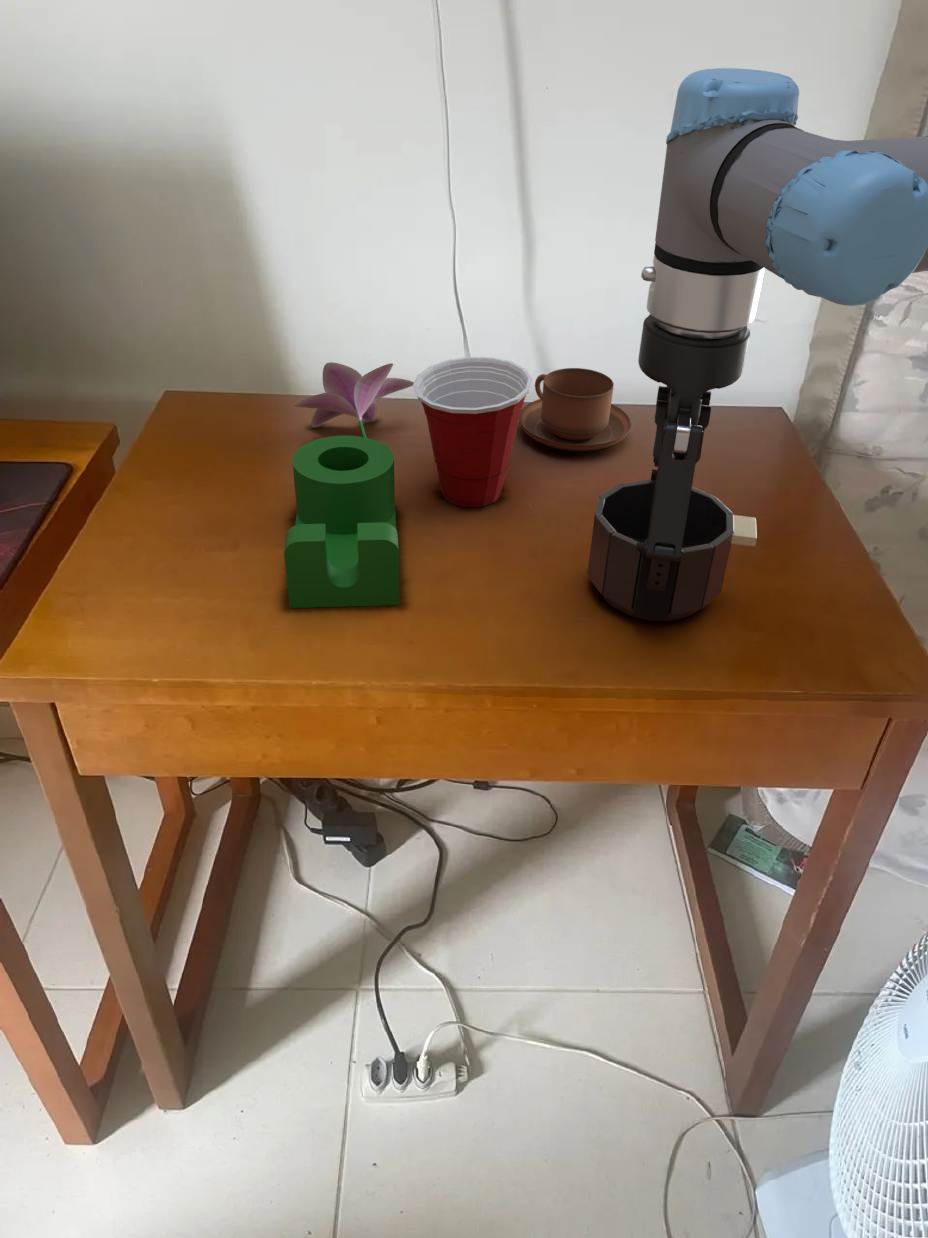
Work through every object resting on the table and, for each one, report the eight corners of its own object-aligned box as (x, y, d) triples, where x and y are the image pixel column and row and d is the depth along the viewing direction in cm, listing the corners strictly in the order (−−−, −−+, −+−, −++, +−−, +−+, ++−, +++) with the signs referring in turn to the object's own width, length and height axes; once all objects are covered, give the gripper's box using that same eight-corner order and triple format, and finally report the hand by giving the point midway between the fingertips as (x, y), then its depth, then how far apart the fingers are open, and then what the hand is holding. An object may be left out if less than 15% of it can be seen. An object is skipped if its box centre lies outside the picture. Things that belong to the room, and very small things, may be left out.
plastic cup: (396, 478, 98) (394, 363, 91) (494, 458, 102) (499, 347, 94) (440, 532, 90) (442, 411, 83) (544, 508, 94) (554, 391, 87)
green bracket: (300, 496, 95) (295, 436, 91) (393, 494, 95) (392, 434, 91) (289, 608, 80) (282, 541, 76) (399, 604, 81) (398, 539, 77)
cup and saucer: (498, 443, 104) (501, 388, 101) (547, 402, 113) (551, 351, 109) (602, 472, 100) (609, 416, 96) (645, 427, 108) (653, 374, 105)
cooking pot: (581, 603, 79) (589, 541, 76) (595, 532, 88) (602, 473, 84) (743, 626, 77) (759, 563, 74) (741, 551, 86) (755, 491, 82)
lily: (432, 436, 108) (409, 349, 106) (412, 444, 96) (386, 345, 94) (330, 463, 110) (305, 378, 108) (299, 473, 98) (271, 378, 96)
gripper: (652, 263, 79) (619, 500, 92) (633, 379, 61) (596, 653, 74) (747, 272, 78) (700, 510, 91) (757, 393, 60) (697, 668, 73)
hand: (653, 574), depth 83 cm, fingers closed on cooking pot, 11 cm apart
